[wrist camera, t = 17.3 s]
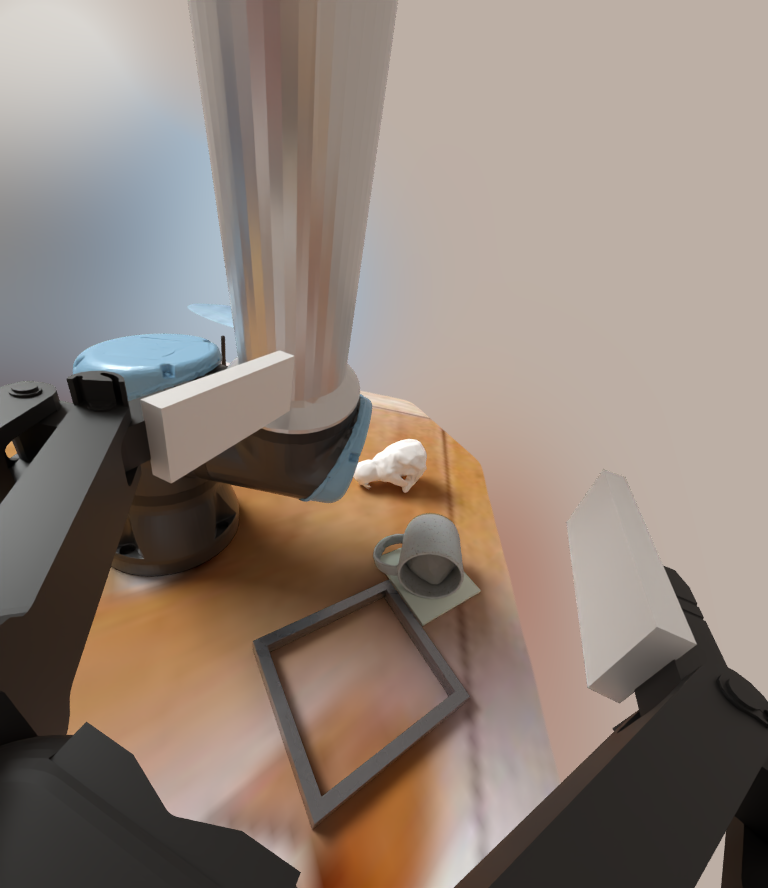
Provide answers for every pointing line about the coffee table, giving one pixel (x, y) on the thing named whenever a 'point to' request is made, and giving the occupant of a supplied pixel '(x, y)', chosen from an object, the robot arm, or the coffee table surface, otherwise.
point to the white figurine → (394, 465)
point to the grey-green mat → (425, 607)
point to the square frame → (349, 786)
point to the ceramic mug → (426, 557)
